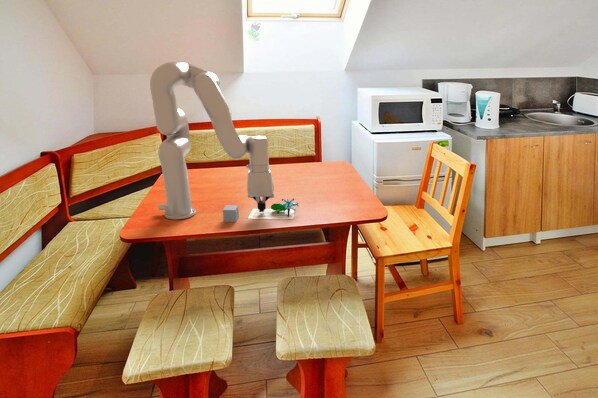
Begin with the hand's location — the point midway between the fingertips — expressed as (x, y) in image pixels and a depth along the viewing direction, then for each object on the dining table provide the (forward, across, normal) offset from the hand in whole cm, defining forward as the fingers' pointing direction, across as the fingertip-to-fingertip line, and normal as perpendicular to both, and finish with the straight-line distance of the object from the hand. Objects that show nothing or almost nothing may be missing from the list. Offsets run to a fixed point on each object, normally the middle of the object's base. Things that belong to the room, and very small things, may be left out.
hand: (261, 210), depth 172 cm
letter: (+1, +4, 0) cm, 4 cm away
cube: (+1, -11, -6) cm, 13 cm away
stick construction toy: (+1, +9, 0) cm, 9 cm away
